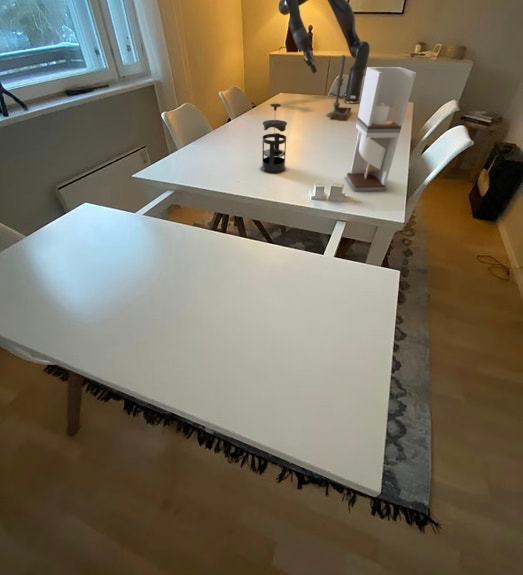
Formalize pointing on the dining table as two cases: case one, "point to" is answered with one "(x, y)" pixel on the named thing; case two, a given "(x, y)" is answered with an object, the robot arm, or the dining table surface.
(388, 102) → the white architectural model
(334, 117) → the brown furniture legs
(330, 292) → the dining table surface
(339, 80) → the candlestick holder
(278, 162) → the french press
